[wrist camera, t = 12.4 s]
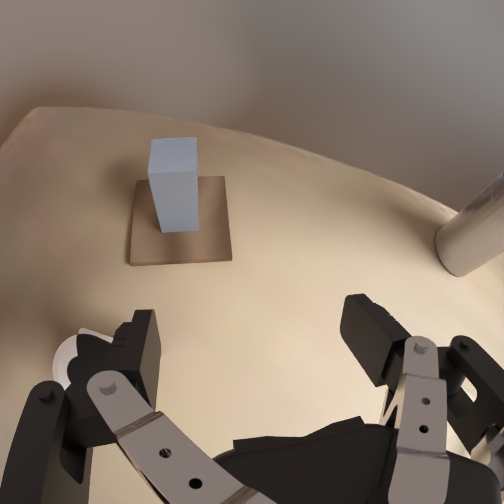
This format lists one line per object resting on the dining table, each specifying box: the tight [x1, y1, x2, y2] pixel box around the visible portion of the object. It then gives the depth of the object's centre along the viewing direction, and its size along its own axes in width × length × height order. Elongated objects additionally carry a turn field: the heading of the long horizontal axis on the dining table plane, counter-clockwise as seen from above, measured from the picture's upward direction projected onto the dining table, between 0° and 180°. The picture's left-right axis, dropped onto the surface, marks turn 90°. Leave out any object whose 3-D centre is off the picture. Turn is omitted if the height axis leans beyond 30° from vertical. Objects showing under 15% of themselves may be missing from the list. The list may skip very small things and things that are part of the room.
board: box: [130, 176, 232, 266], centre depth 36 cm, size 12×12×1 cm
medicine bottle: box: [52, 328, 162, 391], centre depth 22 cm, size 7×7×12 cm
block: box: [148, 137, 199, 233], centre depth 30 cm, size 4×4×11 cm
